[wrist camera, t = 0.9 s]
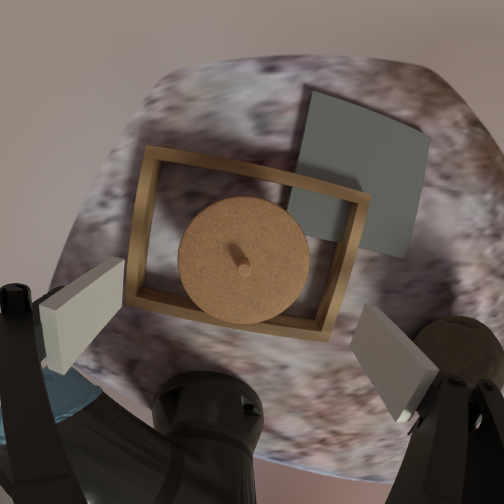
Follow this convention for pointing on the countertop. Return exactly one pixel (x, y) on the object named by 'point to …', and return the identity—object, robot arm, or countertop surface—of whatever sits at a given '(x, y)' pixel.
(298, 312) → the countertop surface
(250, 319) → the lidded jar
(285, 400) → the countertop surface
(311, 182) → the pocket frame
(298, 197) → the trivet
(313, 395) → the countertop surface
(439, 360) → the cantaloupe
